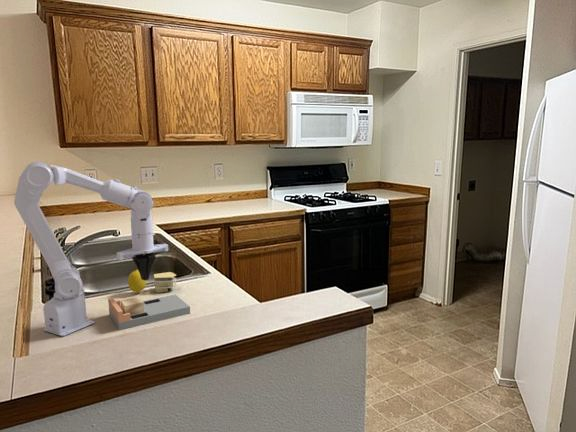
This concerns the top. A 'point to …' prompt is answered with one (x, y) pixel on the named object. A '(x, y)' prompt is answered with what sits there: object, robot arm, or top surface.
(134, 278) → the lemon
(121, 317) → the terracotta end wall
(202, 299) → the top surface
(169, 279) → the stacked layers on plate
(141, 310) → the birch block
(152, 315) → the slate board
